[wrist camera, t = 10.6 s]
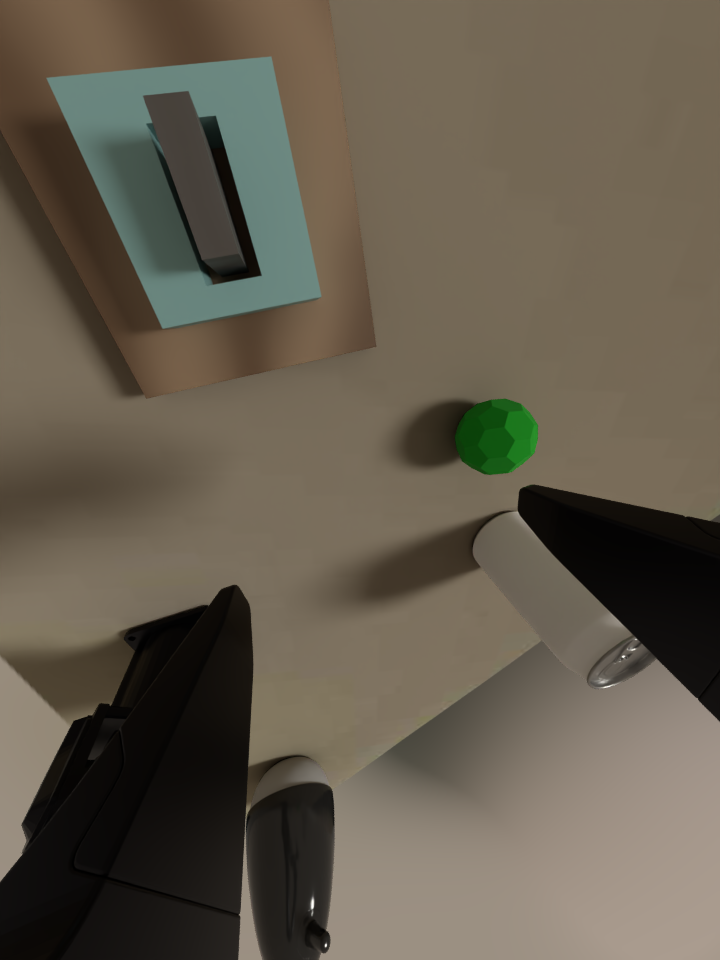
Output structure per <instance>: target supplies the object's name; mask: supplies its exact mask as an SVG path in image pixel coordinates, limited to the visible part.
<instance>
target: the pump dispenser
mask: <svg viewBox="0 0 720 960" xmlns="http://www.w3.org/2000/svg"><path fill="white" fill-rule="evenodd" d="M334 828H335V827H334V800H333V791H332V789H331V787H330V786H329V784H328V780H327V777H326V775H325V773H324V771H323V769H322V768H321V766H320V765H319V764H318V763H317V762H315V761H314V760H312V759H310V758H306V757H292V758H288V759H285V760H283V761H281V762H279V763H277V764H276V765H274V766H273V767H272V768H270V769H269V770H268V771H267V772H266V773H265V775H264V776H263V777H262V779H261V780H260V782H259V784H258V786H257V788H256V790H255V793H254V796H253V799H252V803H251V808H250V810H249V812H248V814H247V819H246V854H247V871H248V882H249V891H250V899H251V907H252V913H253V919H254V925H255V931H256V936H257V941H258V945H259V949H260V953H261V956H262V959H263V960H319V958H320V955H321V953H326V952H327V951H328V949H329V947H330V935H329V933H328V932H327V931H326V929H327V923H328V917H329V909H330V900H331V891H332V879H333V864H334V839H335V838H334V837H335V833H334V832H335V829H334Z"/></svg>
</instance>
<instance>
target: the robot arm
mask: <svg viewBox="0 0 720 960" xmlns="http://www.w3.org/2000/svg"><path fill="white" fill-rule="evenodd" d="M518 512H519V515H520V516H521V518H522V519H523V520H524V521H525V522H526V524H527V525H528V526H529V527H530V529H531V530H532V531H533V532H534V533H535V535H536V536H537V537H538V538H539V539H540V541H541V542H542V543H543V544H544V545H545V547H546V548H547V549H548V550H549V551H550V552H551V554H552V555H553V556H554V557H555V558H556V559H557V560H558V561H559V562H560V563H561V564H562V565H563V566H564V567H565V568H566V569H567V570H568V571H569V572H570V573H571V574H572V575H573V576H574V577H575V578H576V579H577V580H578V581H579V582H580V583H581V584H582V585H583V586H584V587H585V588H586V589H587V590H588V591H589V592H590V593H591V594H592V595H593V596H594V597H595V598H596V599H597V600H598V601H599V602H600V603H601V604H602V605H603V606H604V607H605V608H606V609H607V610H608V611H609V612H610V613H611V614H612V615H613V616H614V617H615V618H616V619H617V620H618V621H619V622H620V623H621V624H622V625H624V626H625V627H626V628H627V629H628V630H629V631H630V632H631V633H632V634H633V635H634V636H635V637H636V638H637V639H638V640H639V641H640V642H641V643H642V644H643V645H644V646H645V647H646V648H647V649H648V650H649V651H650V652H651V653H652V654H653V655H654V656H655V657H656V658H657V659H658V660H659V661H660V662H661V663H662V664H663V665H664V666H665V667H666V668H667V669H668V670H669V671H670V672H671V673H672V674H673V675H674V676H675V677H676V678H677V679H678V680H679V681H680V682H681V683H682V684H683V685H684V686H685V687H686V688H687V689H688V690H689V691H690V692H691V693H692V694H693V695H694V696H695V697H696V698H698V700H699V701H700V702H701V703H702V704H703V705H704V706H705V707H706V708H707V709H708V710H709V711H710V712H711V713H712V714H713V715H714V716H715V717H716V718H717V719H718V720H719V721H720V523H718V522H713V521H708V520H703V519H698V518H693V517H689V516H688V517H685V516H683V515H679V514H674V513H669V512H664V511H659V510H655V509H650V508H645V507H640V506H635V505H630V504H626V503H621V502H616V501H611V500H606V499H602V498H597V497H592V496H587V495H582V494H577V493H573V492H568V491H563V490H558V489H553V488H549V487H544V486H539V485H529V486H526V487H523V488H521V489H520V491H519V498H518ZM124 640H125V641H126V642H127V643H128V644H129V645H130V646H131V647H132V648H133V649H134V650H135V653H134V655H133V657H132V660H131V662H130V664H129V666H128V669H127V671H126V673H125V675H124V678H123V680H122V682H121V685H120V687H119V689H118V691H117V694H116V696H115V698H114V701H113V703H112V705H111V706H109V705H110V704H104V703H99V705H98V707H97V708H96V710H95V712H94V713H93V715H88V716H87V717H84V718H81V719H78V720H75V721H74V722H73V723H72V725H71V727H70V729H69V731H68V733H67V735H66V736H65V738H64V741H63V742H62V744H61V746H60V748H59V750H58V752H57V754H56V756H55V758H54V760H53V762H52V764H51V766H50V768H49V770H48V772H47V774H46V776H45V778H44V780H43V782H42V784H41V786H40V788H39V790H38V792H37V794H36V796H35V798H34V800H33V802H32V804H31V806H30V808H29V810H28V812H27V814H26V816H25V819H24V821H23V823H22V828H23V831H24V834H25V837H26V840H27V841H26V844H25V846H24V849H23V851H22V853H23V854H22V856H21V857H20V858H19V859H18V861H17V862H16V863H15V864H14V866H13V867H12V868H11V869H10V871H9V872H8V873H7V874H6V876H5V877H4V878H3V879H2V880H1V882H0V960H238V952H239V934H240V916H239V914H240V909H241V891H242V873H243V853H244V835H245V816H246V797H247V779H248V760H249V741H250V722H251V703H252V685H253V646H252V629H251V612H250V606H249V603H248V601H247V599H246V598H245V596H244V594H243V593H242V591H241V590H240V588H239V587H238V586H237V585H231V586H229V587H226V588H223V589H221V590H220V591H219V593H218V594H217V595H216V597H215V598H214V599H213V601H212V602H211V604H210V605H209V606H205V607H201V608H198V609H195V610H192V611H189V612H186V613H182V614H179V615H176V616H173V617H170V618H167V619H163V620H160V621H157V622H154V623H151V624H148V625H145V626H141V627H138V628H135V629H132V630H129V631H128V632H127V633H126V635H125V637H124Z"/></svg>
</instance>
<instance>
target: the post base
mask: <svg viewBox="0 0 720 960" xmlns="http://www.w3.org/2000/svg"><path fill="white" fill-rule="evenodd" d="M261 57H272V62H273V67H274V72H275V76H276V81H277V86H278V91H279V96H280V100H281V105H282V110H283V115H284V119H285V124H286V129H287V134H288V139H289V143H290V148H291V153H292V158H293V163H294V167H295V172H296V177H297V182H298V186H299V191H300V196H301V201H302V206H303V210H304V215H305V220H306V225H307V229H308V234H309V239H310V244H311V249H312V253H313V258H314V263H315V268H316V273H317V277H318V282H319V287H320V292H321V296H322V297H321V298H319V299H318V300H315V301H310V302H305V303H300V304H295V305H290V306H285V307H280V308H275V309H270V310H265V311H261V312H256V313H251V314H246V315H241V316H236V317H231V318H226V319H221V320H216V321H211V322H206V323H201V324H196V325H191V326H186V327H181V328H170V329H162V326H161V324H160V322H159V320H158V318H157V316H156V313H155V311H154V309H153V307H152V305H151V303H150V300H149V298H148V296H147V294H146V292H145V290H144V288H143V285H142V283H141V281H140V279H139V277H138V275H137V272H136V270H135V268H134V266H133V264H132V262H131V259H130V257H129V255H128V253H127V251H126V249H125V247H124V244H123V242H122V240H121V238H120V236H119V234H118V231H117V229H116V227H115V225H114V223H113V221H112V218H111V216H110V214H109V212H108V210H107V208H106V206H105V203H104V201H103V199H102V197H101V195H100V193H99V190H98V188H97V186H96V184H95V182H94V180H93V177H92V175H91V173H90V171H89V169H88V167H87V165H86V162H85V160H84V158H83V156H82V154H81V152H80V149H79V147H78V145H77V143H76V141H75V139H74V136H73V134H72V132H71V130H70V128H69V126H68V123H67V121H66V119H65V117H64V115H63V113H62V111H61V108H60V106H59V104H58V102H57V100H56V98H55V95H54V93H53V91H52V89H51V87H50V85H49V82H48V80H47V78H50V77H61V76H71V75H82V74H92V73H103V72H113V71H124V70H134V69H145V68H155V67H166V66H176V65H187V64H198V63H208V62H219V61H229V60H240V59H250V58H261ZM143 98H144V101H145V104H146V107H147V109H148V112H149V115H150V118H151V120H152V123H153V126H154V129H155V131H156V134H157V137H158V140H159V142H160V145H161V148H162V151H163V153H164V156H165V159H166V162H167V165H168V167H169V170H170V173H171V176H172V178H173V181H174V184H175V187H176V189H177V192H178V195H179V198H180V200H181V203H182V206H183V209H184V211H185V214H186V217H187V220H188V222H189V225H190V228H191V231H192V233H193V236H194V239H195V242H196V244H197V247H198V250H199V253H200V255H201V258H202V260H203V261H204V262H205V263H206V266H207V269H208V272H209V274H210V277H211V280H212V283H213V285H215V284H221V283H226V282H231V281H237V280H242V279H247V278H253V277H258V276H262V274H261V271H260V267H259V264H258V260H257V257H256V253H255V250H254V247H253V243H252V240H251V236H250V233H249V229H248V226H247V222H246V219H245V215H244V212H243V208H242V205H241V201H240V198H239V194H238V191H237V187H236V184H235V180H234V177H233V173H232V170H231V166H230V163H229V160H228V156H227V153H226V149H225V147H223V148H215V149H211V148H210V146H209V143H208V140H207V138H206V135H205V133H204V130H203V127H202V125H201V122H200V120H199V117H198V114H197V112H196V109H195V106H194V104H193V101H192V99H191V96H190V93H189V91H183V92H173V93H163V94H154V95H144V96H143ZM0 131H1V133H2V135H3V136H4V138H5V140H6V142H7V144H8V146H9V147H10V149H11V151H12V153H13V155H14V157H15V158H16V160H17V162H18V164H19V166H20V168H21V169H22V171H23V173H24V175H25V177H26V179H27V180H28V182H29V184H30V186H31V188H32V190H33V191H34V193H35V195H36V197H37V199H38V201H39V202H40V204H41V206H42V208H43V210H44V212H45V213H46V215H47V217H48V219H49V221H50V223H51V224H52V226H53V228H54V230H55V232H56V234H57V235H58V237H59V239H60V241H61V243H62V245H63V246H64V248H65V250H66V252H67V254H68V256H69V257H70V259H71V261H72V263H73V265H74V267H75V268H76V270H77V272H78V274H79V276H80V278H81V279H82V281H83V283H84V285H85V287H86V289H87V290H88V292H89V294H90V296H91V298H92V300H93V302H94V303H95V305H96V307H97V309H98V311H99V313H100V314H101V316H102V318H103V320H104V322H105V324H106V325H107V327H108V329H109V331H110V333H111V335H112V336H113V338H114V340H115V342H116V344H117V346H118V347H119V349H120V351H121V353H122V355H123V357H124V358H125V360H126V362H127V364H128V366H129V368H130V369H131V371H132V373H133V375H134V377H135V379H136V380H137V382H138V384H139V386H140V388H141V390H142V391H143V393H144V395H145V397H146V398H151V397H155V396H160V395H164V394H169V393H173V392H177V391H182V390H186V389H191V388H195V387H200V386H204V385H208V384H213V383H217V382H222V381H226V380H231V379H235V378H240V377H244V376H248V375H253V374H257V373H262V372H266V371H271V370H275V369H279V368H284V367H288V366H293V365H297V364H302V363H306V362H311V361H315V360H319V359H324V358H328V357H333V356H337V355H342V354H346V353H350V352H355V351H359V350H364V349H368V348H373V347H376V341H375V334H374V326H373V319H372V312H371V305H370V297H369V290H368V283H367V275H366V268H365V261H364V254H363V246H362V239H361V232H360V225H359V217H358V210H357V203H356V195H355V188H354V181H353V174H352V166H351V159H350V152H349V145H348V137H347V130H346V123H345V115H344V108H343V101H342V94H341V86H340V79H339V72H338V65H337V57H336V50H335V43H334V35H333V28H332V21H331V14H330V6H329V0H0Z"/></svg>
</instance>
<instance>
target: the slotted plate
mask: <svg viewBox="0 0 720 960" xmlns="http://www.w3.org/2000/svg"><path fill="white" fill-rule="evenodd" d="M47 80H48V82H49V85H50V87H51V89H52V91H53V93H54V95H55V98H56V100H57V102H58V104H59V106H60V108H61V111H62V113H63V115H64V117H65V119H66V121H67V123H68V126H69V128H70V130H71V132H72V134H73V136H74V139H75V141H76V143H77V145H78V147H79V149H80V152H81V154H82V156H83V158H84V160H85V162H86V165H87V167H88V169H89V171H90V173H91V175H92V177H93V180H94V182H95V184H96V186H97V188H98V190H99V193H100V195H101V197H102V199H103V201H104V203H105V206H106V208H107V210H108V212H109V214H110V216H111V218H112V221H113V223H114V225H115V227H116V229H117V231H118V234H119V236H120V238H121V240H122V242H123V244H124V247H125V249H126V251H127V253H128V255H129V257H130V259H131V262H132V264H133V266H134V268H135V270H136V272H137V275H138V277H139V279H140V281H141V283H142V285H143V288H144V290H145V292H146V294H147V296H148V298H149V300H150V303H151V305H152V307H153V309H154V311H155V313H156V316H157V318H158V320H159V322H160V324H161V326H162V329H170V328H181V327H186V326H191V325H196V324H201V323H206V322H211V321H216V320H221V319H226V318H231V317H236V316H241V315H246V314H251V313H256V312H261V311H265V310H270V309H275V308H280V307H285V306H290V305H295V304H300V303H305V302H310V301H315V300H318V299H319V298H321V297H322V296H321V292H320V287H319V282H318V277H317V273H316V268H315V263H314V258H313V253H312V249H311V244H310V239H309V234H308V229H307V225H306V220H305V215H304V210H303V206H302V201H301V196H300V191H299V186H298V182H297V177H296V172H295V167H294V163H293V158H292V153H291V148H290V143H289V139H288V134H287V129H286V124H285V119H284V115H283V110H282V105H281V100H280V96H279V91H278V86H277V81H276V76H275V72H274V67H273V62H272V57H261V58H250V59H240V60H229V61H219V62H208V63H198V64H187V65H176V66H166V67H155V68H145V69H134V70H124V71H113V72H103V73H92V74H82V75H71V76H61V77H50V78H47ZM183 91H189V93H190V96H191V99H192V101H193V104H194V106H195V109H196V112H197V114H198V117H199V120H200V122H201V125H202V127H203V130H204V133H205V135H206V138H207V140H208V143H209V146H210V148H211V149H215V148H223V147H225V149H226V153H227V156H228V160H229V163H230V166H231V170H232V173H233V177H234V180H235V184H236V187H237V191H238V194H239V198H240V201H241V205H242V208H243V212H244V215H245V219H246V222H247V226H248V229H249V233H250V236H251V240H252V243H253V247H254V250H255V253H256V257H257V260H258V264H259V267H260V271H261V274H262V276H258V277H253V278H247V279H242V280H237V281H231V282H226V283H221V284H215V285H213V283H212V280H211V277H210V274H209V272H208V269H207V266H206V263H205V262H204V261H203V260H202V258H201V255H200V253H199V250H198V247H197V244H196V242H195V239H194V236H193V233H192V231H191V228H190V225H189V222H188V220H187V217H186V214H185V211H184V209H183V206H182V203H181V200H180V198H179V195H178V192H177V189H176V187H175V184H174V181H173V178H172V176H171V173H170V170H169V167H168V165H167V162H166V159H165V156H164V153H163V151H162V148H161V145H160V142H159V140H158V137H157V134H156V131H155V129H154V126H153V123H152V120H151V118H150V115H149V112H148V109H147V107H146V104H145V101H144V98H143V96H144V95H154V94H163V93H173V92H183Z"/></svg>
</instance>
